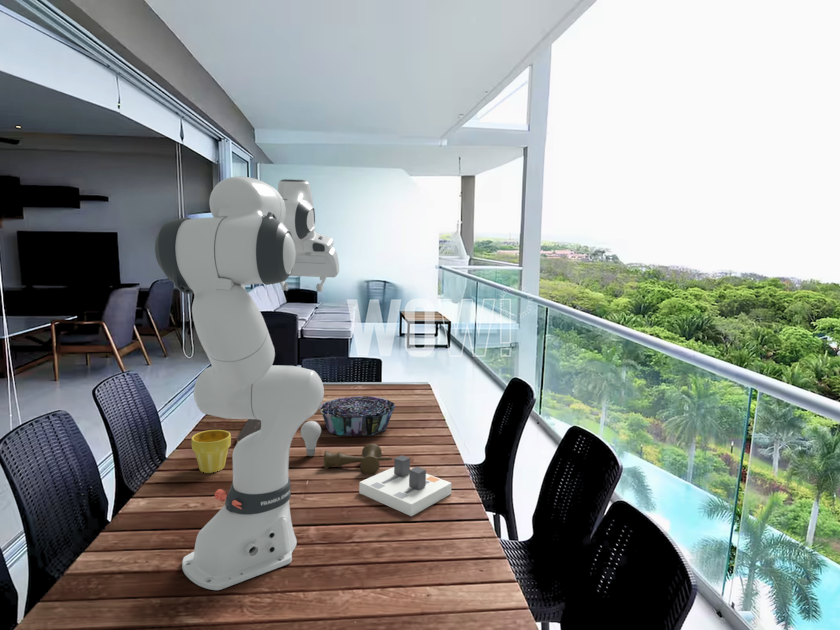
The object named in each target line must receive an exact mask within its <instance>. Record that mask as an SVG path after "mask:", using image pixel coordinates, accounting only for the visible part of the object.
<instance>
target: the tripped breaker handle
mask: <svg viewBox="0 0 840 630" xmlns="http://www.w3.org/2000/svg"><path fill="white" fill-rule="evenodd" d="M412 468H413V469H411V470H409V487H412V488H414V489H416V490H419V489H421V488H423V487H425V486H426V474H427V469H424V468H423V467H420V466H416V467H412Z"/></svg>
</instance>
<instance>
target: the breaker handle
mask: <svg viewBox="0 0 840 630" xmlns="http://www.w3.org/2000/svg"><path fill="white" fill-rule="evenodd" d="M393 462H394V463H393V465H394V466H393V467H394V474H396V475H398V476H401V477H404V476H406V475H408V474H409V470H410V468H411V457H408V456H405V455H399V456H397V457H394V461H393Z"/></svg>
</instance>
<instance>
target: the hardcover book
mask: <svg viewBox="0 0 840 630" xmlns="http://www.w3.org/2000/svg"><path fill="white" fill-rule="evenodd" d="M259 430H261V420H258V419H246V422H245V424H244V426H243V427H242V428H241V430H240V432H239V434H238V435H237V437H236V439H235V441H236V444H237V443H238V442H239V441H240V440H242V439H243V438H245V437H246V436H248V435H250V434H252V433H254V432H257V431H259Z"/></svg>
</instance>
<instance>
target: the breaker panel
mask: <svg viewBox="0 0 840 630" xmlns="http://www.w3.org/2000/svg"><path fill="white" fill-rule="evenodd" d="M413 468H414V467H410V470H411V469H413ZM358 485H359V487H358V488H359V489H358V490H359V492H358V493H359V494H360V495H363V496H365V497H367V498H368V499H369V498H370V499H372V500H374V501H376V502H378V503H381V504H383V505H385V506H386V507H387V506H388V507H390V508H392V509H394V510H397V511H398V512H401V513H403V514H405V515H408V516H409V517H413V516H415V515H417V514H418V513H420V512H422V511H424V510H425V509H427V508H429V507H430V506H433V505H434V504H436V503H437V502H439V501H441V500H443V499H444V498H446V497H448V496H449V495H451V494H452V482H450V481H448V480H445V479H442V478H439V477H436V476H434V475H432V474H428V473H426V486H425V487H423V488H421V489H419V490H416V489H414V488H412V487H409V474H408V475H406V476H404V477H401V476H398V475H396V474H394V466H393V467H390V468H389V469H386V470H383V471H380V472H379V473H376V474H375V475H374V474H373V475H372V476H370V477H368V478H366V479H363V480H362V481H359V483H358Z"/></svg>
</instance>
